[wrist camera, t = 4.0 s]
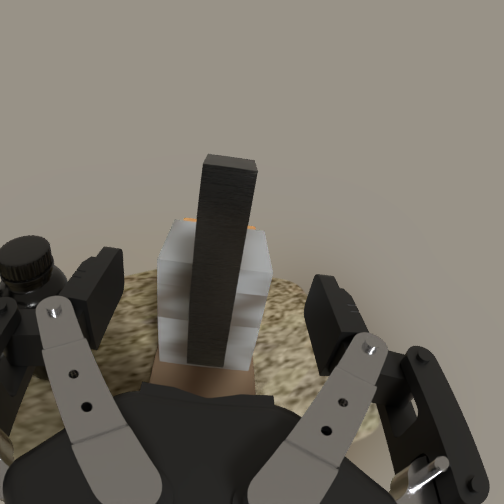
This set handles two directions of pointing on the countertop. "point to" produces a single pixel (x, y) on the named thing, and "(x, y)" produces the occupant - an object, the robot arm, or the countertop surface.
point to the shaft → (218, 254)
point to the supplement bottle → (29, 276)
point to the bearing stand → (177, 317)
